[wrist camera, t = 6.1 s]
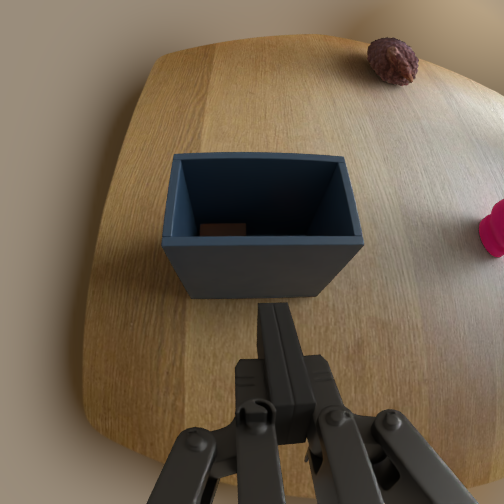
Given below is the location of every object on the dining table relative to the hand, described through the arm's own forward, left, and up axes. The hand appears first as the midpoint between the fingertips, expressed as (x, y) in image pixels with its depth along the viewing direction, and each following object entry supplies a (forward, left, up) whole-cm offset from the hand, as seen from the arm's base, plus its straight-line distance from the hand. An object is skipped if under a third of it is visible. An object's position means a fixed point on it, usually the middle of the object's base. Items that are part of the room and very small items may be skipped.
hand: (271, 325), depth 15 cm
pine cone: (+54, +9, -12) cm, 56 cm away
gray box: (+6, +5, -12) cm, 14 cm away
